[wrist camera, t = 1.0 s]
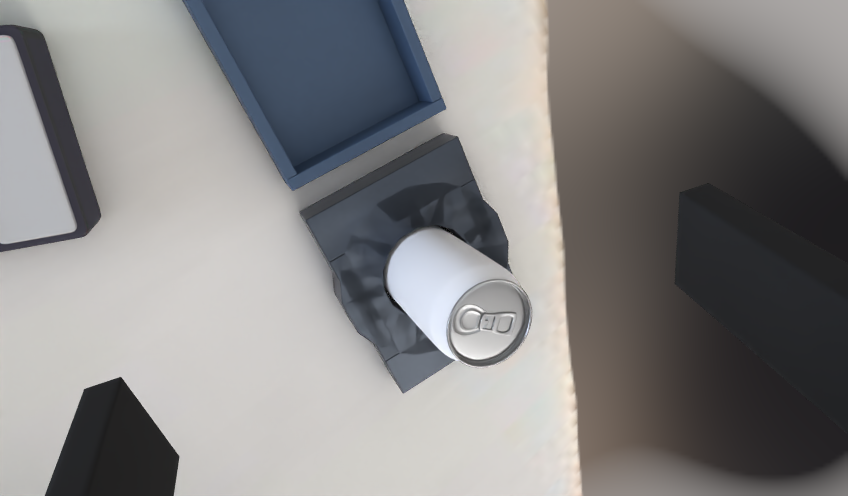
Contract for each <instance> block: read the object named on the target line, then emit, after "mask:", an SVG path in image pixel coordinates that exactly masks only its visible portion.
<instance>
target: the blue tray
mask: <svg viewBox="0 0 848 496" xmlns="http://www.w3.org/2000/svg"><path fill="white" fill-rule="evenodd" d="M183 2H184V4H185V6H186V7H187V9H188V11H189V13H190V14H191V16H192V18H193V20H194V22H195V23H196V25H197V27H198V29H199V30H200V32H201V34H202V36H203V37H204V39H205V41H206V43H207V45H208V46H209V48H210V50H211V52H212V53H213V55H214V57H215V59H216V61H217V62H218V64H219V66H220V68H221V69H222V71H223V73H224V75H225V76H226V78H227V80H228V82H229V84H230V85H231V87H232V89H233V91H234V92H235V94H236V96H237V98H238V99H239V101H240V103H241V105H242V107H243V108H244V110H245V112H246V114H247V115H248V117H249V119H250V121H251V123H252V124H253V126H254V128H255V130H256V131H257V133H258V135H259V137H260V138H261V140H262V142H263V144H264V146H265V147H266V149H267V151H268V153H269V154H270V156H271V158H272V160H273V161H274V163H275V165H276V167H277V169H278V170H279V172H280V174H281V176H282V177H283V179H284V181H285V183H286V184H287V185H288V186H289V187H290V188H291V190H292V191H294V190H296V189H297V188H299V187H301V186H303V185H305V184H307V183H309V182H310V181H312V180H314V179H316V178H318V177H320V176H322V175H324V174H325V173H327V172H329V171H331V170H333V169H335V168H337V167H338V166H340V165H342V164H344V163H346V162H348V161H350V160H352V159H353V158H355V157H357V156H359V155H361V154H363V153H365V152H367V151H368V150H370V149H372V148H374V147H376V146H378V145H380V144H381V143H383V142H385V141H387V140H389V139H391V138H393V137H395V136H396V135H398V134H400V133H402V132H404V131H406V130H408V129H409V128H411V127H413V126H415V125H417V124H419V123H421V122H423V121H424V120H426V119H428V118H430V117H432V116H434V115H436V114H437V113H439V112H441V111H443V110H445V109H446V106H445V103H444V101H443V98H441V97H442V96H441V93H440V91H439V88H438V86H437V83H436V81H435V78H434V76H433V73H432V71H431V68H430V66H429V63H428V61H427V58H426V56H425V53H424V51H423V48H422V46H421V43H420V41H419V38H418V35H417V33H416V30H415V28H414V25H413V23H412V20H411V18H410V15H409V13H408V10H407V8H406V5H405V3H404V0H183Z"/></svg>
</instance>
